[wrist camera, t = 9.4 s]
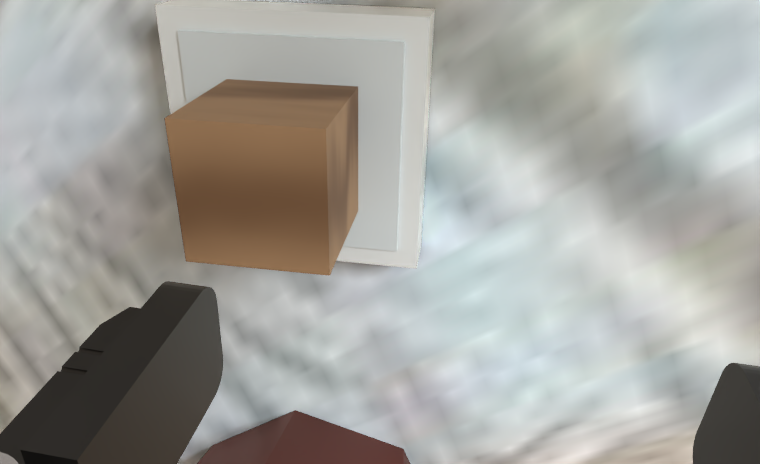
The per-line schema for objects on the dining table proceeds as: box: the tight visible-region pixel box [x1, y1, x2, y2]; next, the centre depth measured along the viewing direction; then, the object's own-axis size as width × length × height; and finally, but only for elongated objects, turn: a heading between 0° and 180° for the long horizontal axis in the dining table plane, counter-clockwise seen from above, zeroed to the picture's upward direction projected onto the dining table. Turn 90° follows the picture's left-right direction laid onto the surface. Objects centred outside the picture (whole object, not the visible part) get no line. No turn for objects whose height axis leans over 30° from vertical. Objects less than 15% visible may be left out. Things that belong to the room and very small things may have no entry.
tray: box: [155, 0, 435, 269], centre depth 30 cm, size 12×12×3 cm
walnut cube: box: [165, 79, 358, 275], centre depth 26 cm, size 6×6×6 cm
